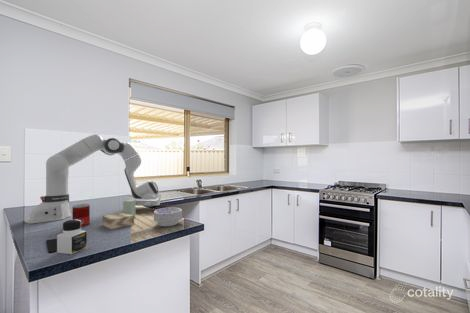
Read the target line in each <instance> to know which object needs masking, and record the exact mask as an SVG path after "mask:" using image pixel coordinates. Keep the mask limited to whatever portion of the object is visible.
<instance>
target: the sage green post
mask: <svg viewBox="0 0 470 313" xmlns="http://www.w3.org/2000/svg"><path fill="white" fill-rule="evenodd" d="M122 202H123V204H122V205H123V206H122V211H123V212H126V213H129V214H131V215H134V219H135V218H136V205H135V200H131V199H126V200H123V201H122ZM123 212H122V213H123Z"/></svg>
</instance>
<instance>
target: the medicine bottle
mask: <svg viewBox="0 0 470 313" xmlns="http://www.w3.org/2000/svg"><path fill="white" fill-rule="evenodd" d="M87 236H88V234H87V230H82V227H81V221H80V220H77V219H75V220H73V219H69V220H66V221H64V222H63V223H62V233H59V234H57V235H56V238H57V252H56V253H57V254H62V255H64V254H65V255H74V254H75V253H78V252H81V251H83V250H85V249H87V246H88V245H87V244H88V243H87V240H88V239H87V238H88V237H87Z"/></svg>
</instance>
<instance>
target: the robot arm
mask: <svg viewBox="0 0 470 313" xmlns="http://www.w3.org/2000/svg"><path fill="white" fill-rule="evenodd" d="M99 151H101V152H102V153H104V155H107V156H114V155H116V154H118V155H119V156H121V158H122V160H123V162H124V166H125V168H124V175H125V176H126V180H127V183H128V186H129V189H130V192H131V196H132V197H133V198H132V199H130V200H135V206H143V207H145V208H150V207H154V206H160V205H161V199H162V194H161V193H160V192H159V186H158V185H157V183H156V182H154V181H153V180H147V181H145V182H143V183H141V184H139V185H138V183H137V181H136V179H135V176H134V175H135V172H136V171H137V169H139V167H140V166H141V164H142V158H141V155H140V154H139V152H138V151H137V149H136V148H135V146H134V145H133V144H132V143H130V142H124V143H123V141H121V140H119V139H118V138H114V137H111V138H108V139H104V138H103V137H102V136H101V135H100V134H91V135H88V136H86V137H85V138H82V139H80V140H79V141H76V142H75V143H74V144H72V145H70V146H67V147H65V148H63V150H60V151H59V152H57V153H55V154H53V155H51V156H49V157H48V158H47V160H46V162H45V172H46V173H45V176H46V177H45V191H46V192H45V195H44V196H43V195H42V196H40V197H39V199H40V200H41V203H39V204H37V205H36V206H35V207H33V208H32V209H31V211H30V213H29V217H27V218H25V219H24V223H25V224H30V225H31V224H37V223H47V222H53V221H62V220H64V219H66V218H67V219H68V218H70V217H71V216H72V213H71V210H70V204H69V203H70V194H69V170H70V169H69V168H70V167H71V166H73V165H75V164H78V163H79V162H81V161H83V160H85V159H86V158H89V156H91V155H92V154H94V153H96V152H99Z"/></svg>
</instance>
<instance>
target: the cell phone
mask: <svg viewBox="0 0 470 313" xmlns="http://www.w3.org/2000/svg"><path fill="white" fill-rule="evenodd" d="M45 242H46V247H47V252H48V254H53V253H57V237H55V238H51V239H47V240H45Z"/></svg>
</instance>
